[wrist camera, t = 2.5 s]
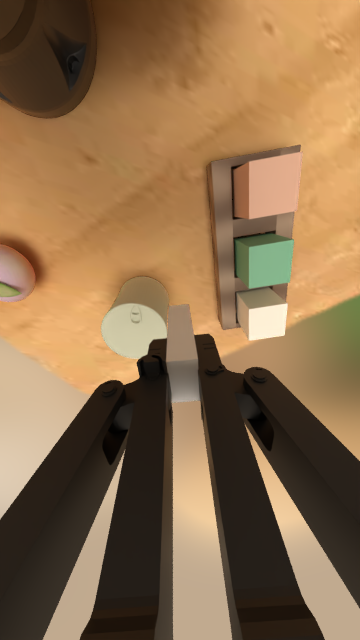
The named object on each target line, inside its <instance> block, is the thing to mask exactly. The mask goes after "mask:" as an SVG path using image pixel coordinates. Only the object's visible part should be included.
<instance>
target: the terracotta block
mask: <svg viewBox="0 0 360 640" xmlns="http://www.w3.org/2000/svg"><path fill="white" fill-rule="evenodd" d="M302 155H303V152H297V153H292V154H287V155H281V156H276V157H270V158H265V159H260V160H254V161H249V162H247V163H246V164H244V165H242V166H240V167H238V168H237V169H235V170H233V171H232V183H233V216H235V217H240V218H245V219H254V218H259V217H265V216H271V215H277V214H282V213H288V212H294V211H297V205H298V195H299V185H300V175H301V165H302Z"/></svg>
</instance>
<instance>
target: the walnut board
mask: <svg viewBox="0 0 360 640" xmlns="http://www.w3.org/2000/svg"><path fill="white" fill-rule="evenodd" d="M300 148H301V145H296V146H291V147H286V148H280V149H275V150H270V151H264V152H259V153H254V154H248V155H243V156H238V157H232V158H227V159H222V160H216V161H211V162H210V163H209V165H208V166H207V176H208V189H209V202H210V215H211V228H212V240H213V253H214V266H215V279H216V292H217V305H218V317H219V322H220V324H221V327H222V329H223V330H226V329H233V328H240V327H241V326H240V324H239V322H238V320H237V314H236V309H235V292H236V291H242V290H249V288H248V287H247V286H246V285H245V284H244V283H243V282H242V281H241V279H240V278H239V277H238V276H237V275H236V274H235V270H234V248H233V237H239V236H245V235H251V234H256V233H262V232H265V234H266V233H273V234H276V235H280V236H283V237H287V238H290V239H292V232H293V222H294V212H288V213H282V214H277V215H271V216H265V217H259V218H254V219H245V218H240V217H232V187H231V170H232V169H237V168H238V167H240V166H242V165H244V164H246V163H247V162H249V161H254V160H260V159H265V158H270V157H276V156H281V155H287V154H292V153H297V152H300ZM287 285H288V283H282V284H276V285H270V286H263V287H269V288H270V289H272V290H273V291H274V292H275V293H276V294H277V295H279V296H280V297H281V298H282V299H283V300H284V301H286V296H287ZM257 288H261V287H257ZM251 289H255V288H251Z"/></svg>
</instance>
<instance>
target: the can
mask: <svg viewBox="0 0 360 640" xmlns="http://www.w3.org/2000/svg"><path fill="white" fill-rule="evenodd" d="M168 305H169V297H168V293H167V291H166V289H165V288H164V286H163V285H162V284H161V283H160V282H158V281H157V280H155V279H153V278H150V277H145V276H140V277H135V278H132V279H130V280H128V281H127V282H126V283H125V284H124V285H123V286H122V288H121V290H120V293H119V295H118V297H117V298H116V300H115V302H114V303H113V305H112V307H111V308H110V310H109V311H108V312H107V314H106V315H105V317H104V318H103V321H102V325H101V333H102V337H103V339H104V341H105V343H106V344H107V345H108V347H109V348H110V349H111V350H113V351H114V352H116V353H117V354H119V355H121V356H124V357H127V358H132V359H140V358H141V357H142V356H145V355H147V354H148V348H149V344H150V343H151V342H152V340H153V339H163V338H167V311H168Z"/></svg>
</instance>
